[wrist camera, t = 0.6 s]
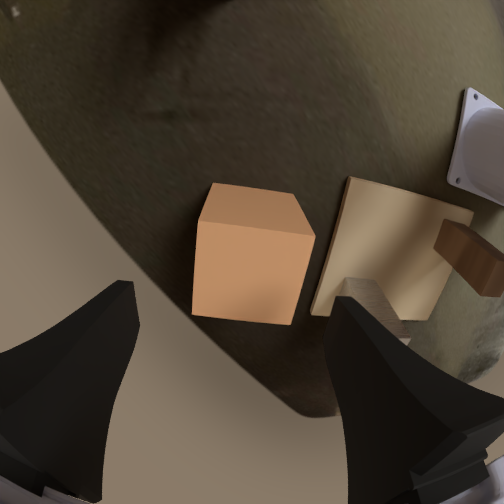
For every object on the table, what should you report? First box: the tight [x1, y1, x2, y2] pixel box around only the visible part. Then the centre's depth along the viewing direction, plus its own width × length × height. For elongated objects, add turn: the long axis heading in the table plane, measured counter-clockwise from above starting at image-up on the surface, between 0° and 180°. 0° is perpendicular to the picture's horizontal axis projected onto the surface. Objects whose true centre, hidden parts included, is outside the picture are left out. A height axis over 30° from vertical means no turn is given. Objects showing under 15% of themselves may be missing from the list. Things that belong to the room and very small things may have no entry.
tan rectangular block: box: [192, 183, 316, 325], centre depth 17 cm, size 5×5×7 cm
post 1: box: [339, 277, 411, 346], centre depth 19 cm, size 3×3×7 cm
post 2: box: [433, 219, 504, 297], centre depth 17 cm, size 3×3×7 cm
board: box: [310, 176, 474, 320], centre depth 21 cm, size 12×11×1 cm
